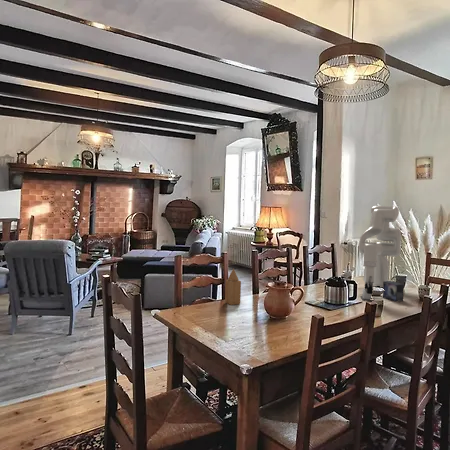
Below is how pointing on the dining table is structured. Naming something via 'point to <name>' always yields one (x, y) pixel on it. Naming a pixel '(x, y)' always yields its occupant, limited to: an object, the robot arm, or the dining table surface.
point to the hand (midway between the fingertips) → (368, 291)
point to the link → (365, 295)
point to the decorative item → (233, 289)
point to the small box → (393, 291)
